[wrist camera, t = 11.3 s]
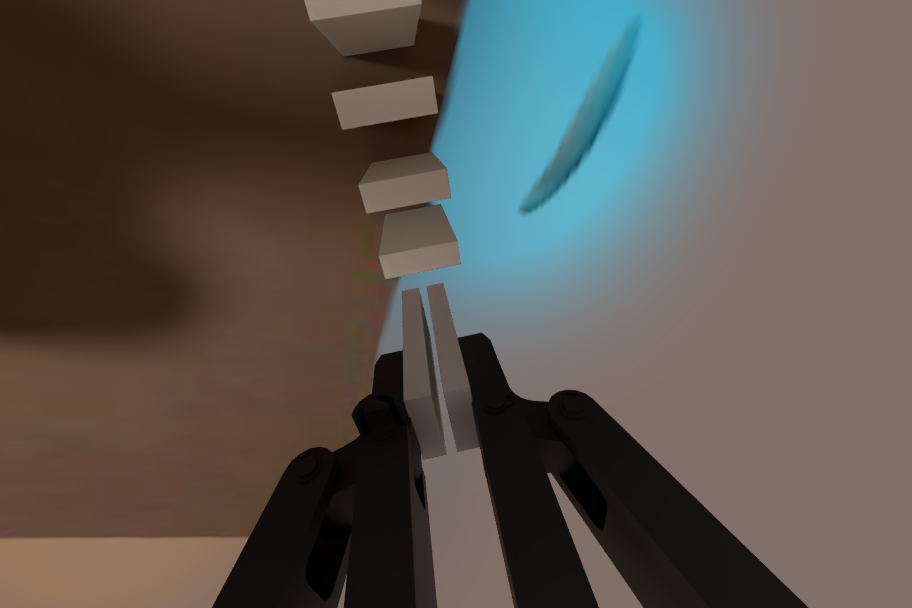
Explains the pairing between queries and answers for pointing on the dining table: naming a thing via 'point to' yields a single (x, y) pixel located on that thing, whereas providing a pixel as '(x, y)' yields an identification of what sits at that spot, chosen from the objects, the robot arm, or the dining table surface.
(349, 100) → the domino
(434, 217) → the domino
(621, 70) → the dining table surface
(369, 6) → the domino
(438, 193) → the domino
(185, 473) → the dining table surface
